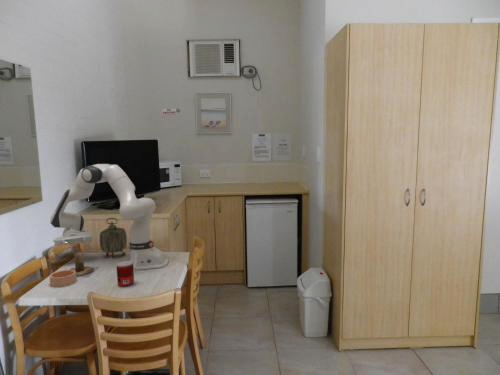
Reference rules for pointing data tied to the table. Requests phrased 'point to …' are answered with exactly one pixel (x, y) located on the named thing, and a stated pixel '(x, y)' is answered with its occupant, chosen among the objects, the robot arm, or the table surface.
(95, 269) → the mat
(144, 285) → the table surface
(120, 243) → the tabletop clock
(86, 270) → the lid
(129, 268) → the canned food
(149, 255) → the robot arm
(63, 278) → the bowl
